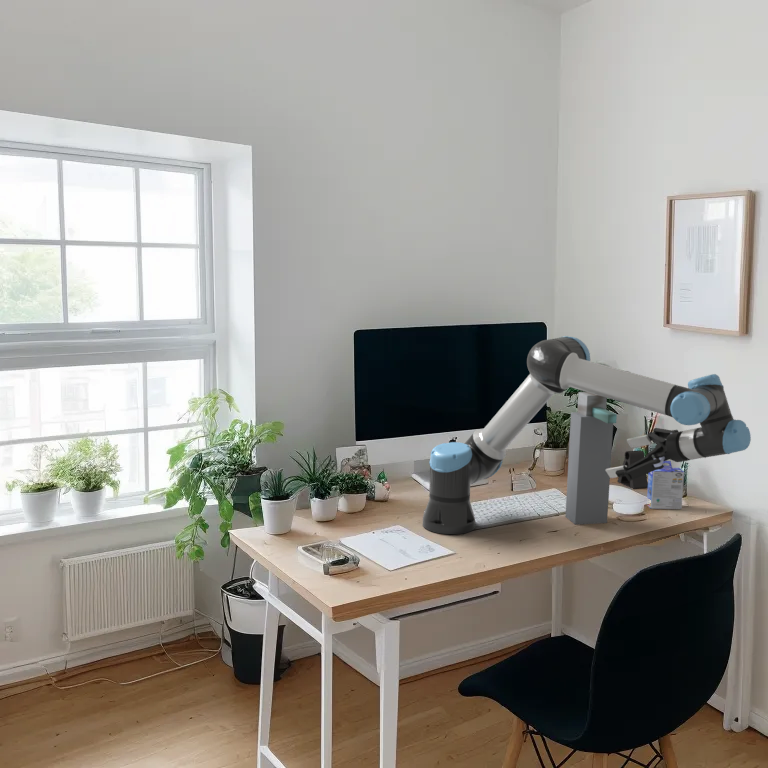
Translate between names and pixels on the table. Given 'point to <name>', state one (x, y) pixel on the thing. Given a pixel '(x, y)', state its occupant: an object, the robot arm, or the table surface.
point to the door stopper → (629, 459)
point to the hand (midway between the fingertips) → (619, 458)
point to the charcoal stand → (588, 469)
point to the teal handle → (595, 407)
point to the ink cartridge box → (665, 487)
